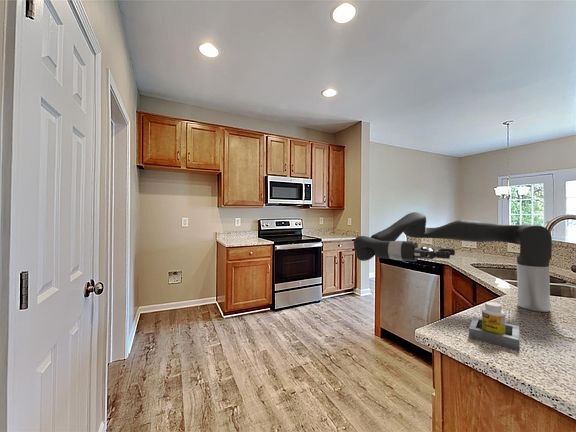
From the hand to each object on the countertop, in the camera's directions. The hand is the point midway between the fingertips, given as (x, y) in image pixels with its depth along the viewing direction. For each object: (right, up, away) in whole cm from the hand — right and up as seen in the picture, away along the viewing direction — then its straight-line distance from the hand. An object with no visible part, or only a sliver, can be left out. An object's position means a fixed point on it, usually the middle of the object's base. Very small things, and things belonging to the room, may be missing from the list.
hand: (452, 253), depth 86 cm
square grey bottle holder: (+7, -24, -9) cm, 27 cm away
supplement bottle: (+7, -25, -9) cm, 27 cm away
